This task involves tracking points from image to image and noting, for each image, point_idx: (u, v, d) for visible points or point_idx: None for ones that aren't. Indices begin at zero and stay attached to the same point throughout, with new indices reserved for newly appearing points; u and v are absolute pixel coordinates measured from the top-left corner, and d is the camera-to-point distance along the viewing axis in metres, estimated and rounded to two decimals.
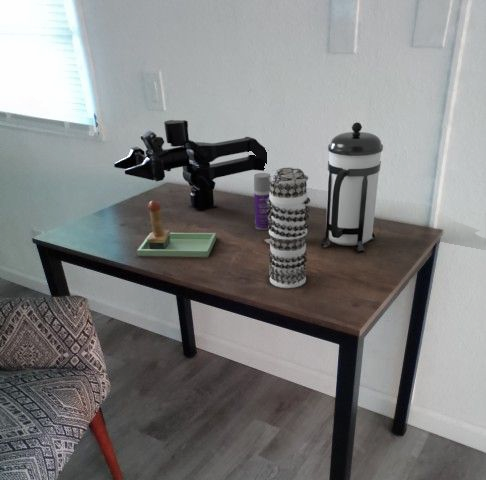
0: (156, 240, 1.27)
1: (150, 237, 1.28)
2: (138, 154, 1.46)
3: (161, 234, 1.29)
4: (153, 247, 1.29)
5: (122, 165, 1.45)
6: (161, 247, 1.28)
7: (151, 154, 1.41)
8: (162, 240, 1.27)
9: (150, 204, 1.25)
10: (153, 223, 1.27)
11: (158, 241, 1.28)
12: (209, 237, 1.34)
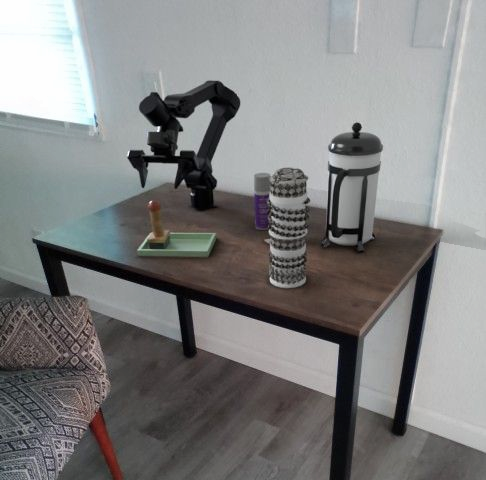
0: (156, 240, 1.27)
1: (150, 237, 1.28)
2: (142, 157, 1.33)
3: (161, 234, 1.29)
4: (153, 247, 1.29)
5: (144, 180, 1.33)
6: (161, 247, 1.28)
7: (167, 150, 1.31)
8: (162, 240, 1.27)
9: (150, 204, 1.25)
10: (153, 223, 1.27)
11: (158, 241, 1.28)
12: (209, 237, 1.34)
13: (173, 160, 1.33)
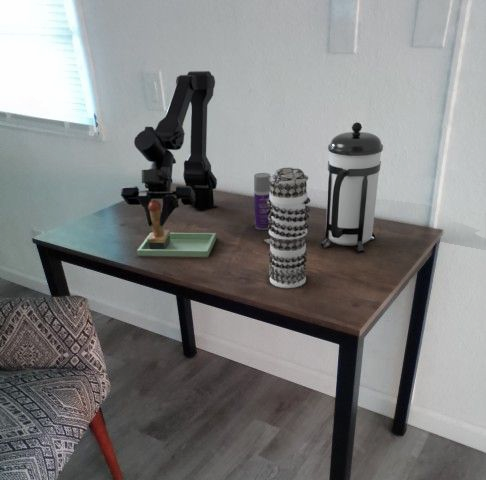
0: (156, 240, 1.27)
1: (150, 237, 1.28)
2: (147, 194, 1.28)
3: (161, 234, 1.29)
4: (153, 247, 1.29)
5: None
6: (161, 247, 1.28)
7: (163, 187, 1.26)
8: (162, 240, 1.27)
9: (150, 204, 1.24)
10: (153, 223, 1.27)
11: (158, 241, 1.28)
12: (209, 237, 1.34)
13: (169, 196, 1.28)
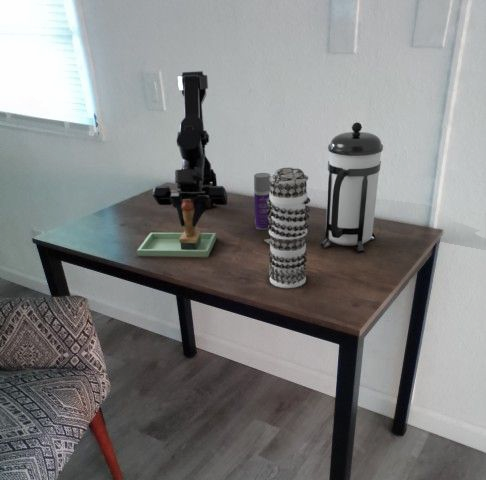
0: (188, 240, 1.26)
1: (182, 237, 1.27)
2: (179, 194, 1.27)
3: (193, 234, 1.28)
4: (185, 247, 1.28)
5: None
6: (193, 247, 1.27)
7: (195, 187, 1.25)
8: (194, 240, 1.26)
9: (183, 204, 1.23)
10: (186, 223, 1.26)
11: (190, 241, 1.26)
12: (209, 237, 1.34)
13: None
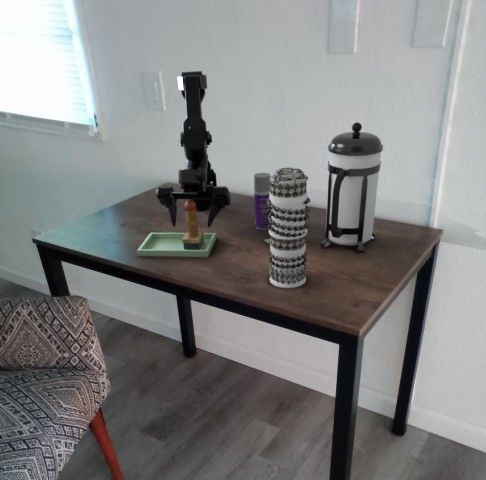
0: (191, 240, 1.26)
1: (185, 237, 1.27)
2: (171, 194, 1.27)
3: (196, 234, 1.28)
4: (187, 247, 1.28)
5: (174, 218, 1.28)
6: (196, 247, 1.27)
7: (199, 187, 1.25)
8: (197, 240, 1.26)
9: (186, 204, 1.23)
10: (188, 223, 1.26)
11: (193, 241, 1.26)
12: (209, 237, 1.34)
13: (204, 196, 1.27)
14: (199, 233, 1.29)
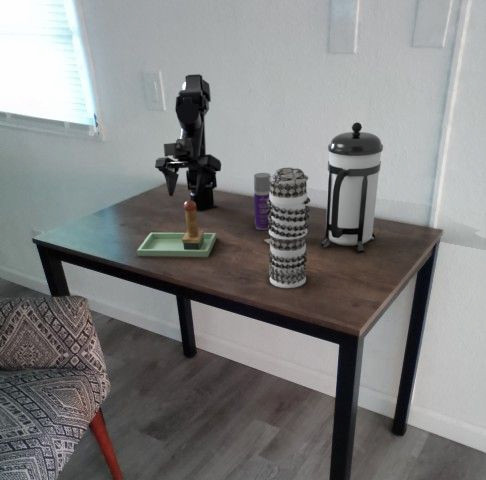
0: (191, 240, 1.26)
1: (185, 237, 1.27)
2: (168, 165, 1.35)
3: (196, 234, 1.28)
4: (187, 247, 1.28)
5: (172, 187, 1.36)
6: (196, 247, 1.27)
7: (187, 157, 1.30)
8: (197, 240, 1.26)
9: (186, 204, 1.23)
10: (188, 223, 1.26)
11: (193, 241, 1.26)
12: (209, 237, 1.34)
13: (195, 165, 1.32)
14: (199, 233, 1.29)
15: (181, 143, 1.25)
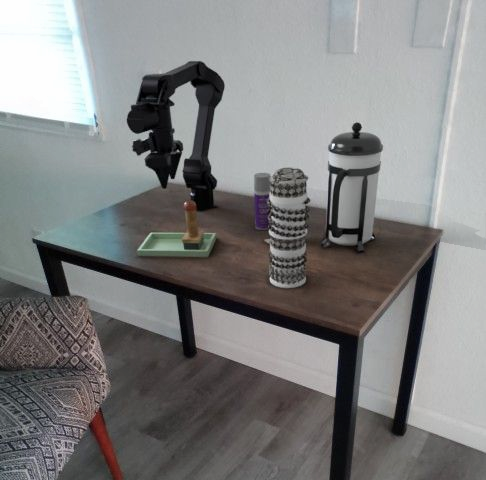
0: (191, 240, 1.26)
1: (185, 237, 1.27)
2: None
3: (196, 234, 1.28)
4: (187, 247, 1.28)
5: (173, 170, 1.44)
6: (196, 247, 1.27)
7: None
8: (197, 240, 1.26)
9: (186, 204, 1.23)
10: (188, 223, 1.26)
11: (193, 241, 1.26)
12: (209, 237, 1.34)
13: None
14: (199, 233, 1.29)
15: None
